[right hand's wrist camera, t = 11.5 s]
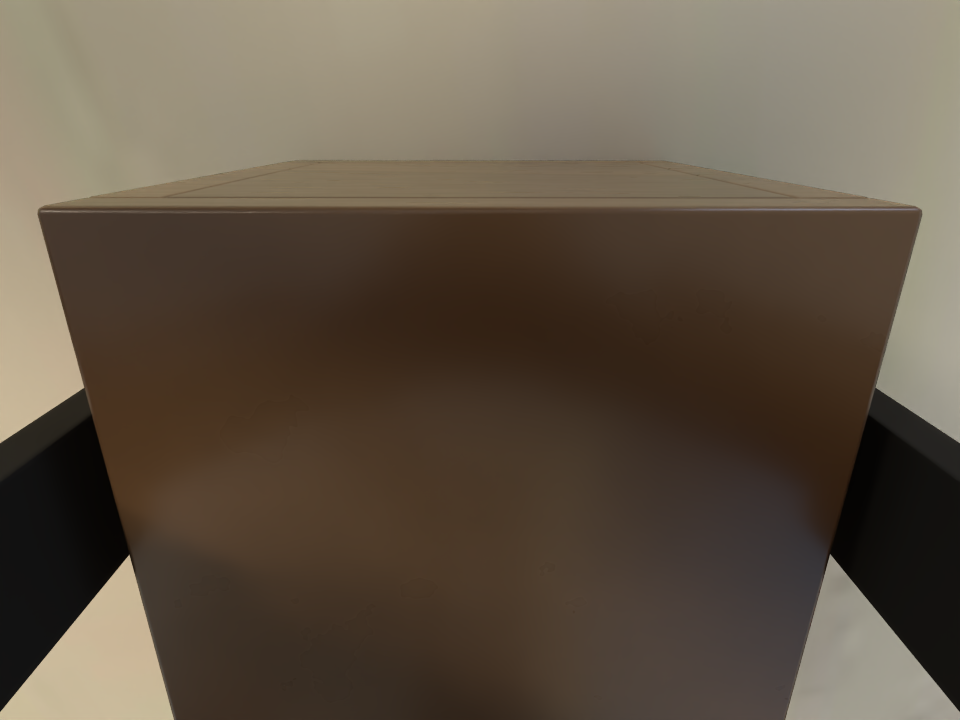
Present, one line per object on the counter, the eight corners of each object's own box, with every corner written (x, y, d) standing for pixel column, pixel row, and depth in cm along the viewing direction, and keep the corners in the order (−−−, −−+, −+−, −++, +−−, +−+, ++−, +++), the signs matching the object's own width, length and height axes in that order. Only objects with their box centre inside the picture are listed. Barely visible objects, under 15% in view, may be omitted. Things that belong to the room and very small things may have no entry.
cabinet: (608, 683, 24) (694, 1057, 14) (350, 683, 24) (263, 1058, 14) (666, 160, 16) (927, 206, 7) (293, 160, 16) (31, 206, 7)
